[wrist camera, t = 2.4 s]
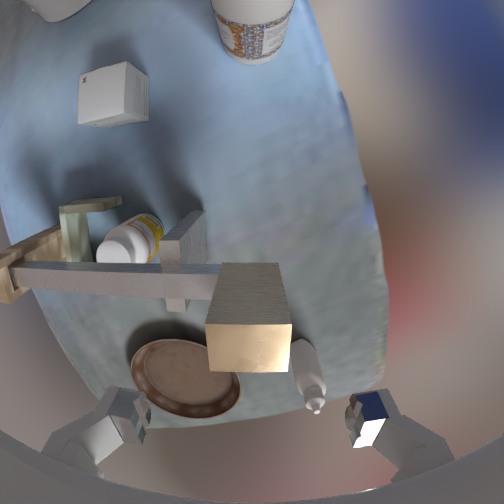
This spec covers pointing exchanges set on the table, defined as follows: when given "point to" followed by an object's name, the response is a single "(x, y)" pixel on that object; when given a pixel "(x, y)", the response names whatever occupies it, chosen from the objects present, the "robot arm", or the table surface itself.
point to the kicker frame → (55, 242)
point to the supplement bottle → (132, 241)
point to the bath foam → (252, 28)
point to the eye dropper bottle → (308, 374)
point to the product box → (113, 96)
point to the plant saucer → (183, 379)
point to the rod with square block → (190, 294)
